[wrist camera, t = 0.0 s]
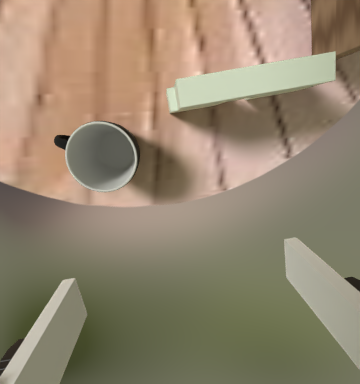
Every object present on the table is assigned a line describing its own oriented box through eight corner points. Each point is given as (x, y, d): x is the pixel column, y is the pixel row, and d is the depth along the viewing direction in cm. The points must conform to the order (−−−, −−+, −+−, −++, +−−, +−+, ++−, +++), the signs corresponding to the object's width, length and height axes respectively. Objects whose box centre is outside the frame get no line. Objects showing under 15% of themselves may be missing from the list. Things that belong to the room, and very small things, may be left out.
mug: (150, 131, 40) (145, 133, 30) (136, 182, 42) (128, 200, 32) (75, 108, 38) (45, 103, 28) (65, 163, 40) (34, 175, 31)
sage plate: (166, 93, 38) (167, 80, 27) (290, 71, 39) (344, 49, 27) (169, 113, 39) (171, 109, 28) (291, 92, 39) (343, 78, 28)
